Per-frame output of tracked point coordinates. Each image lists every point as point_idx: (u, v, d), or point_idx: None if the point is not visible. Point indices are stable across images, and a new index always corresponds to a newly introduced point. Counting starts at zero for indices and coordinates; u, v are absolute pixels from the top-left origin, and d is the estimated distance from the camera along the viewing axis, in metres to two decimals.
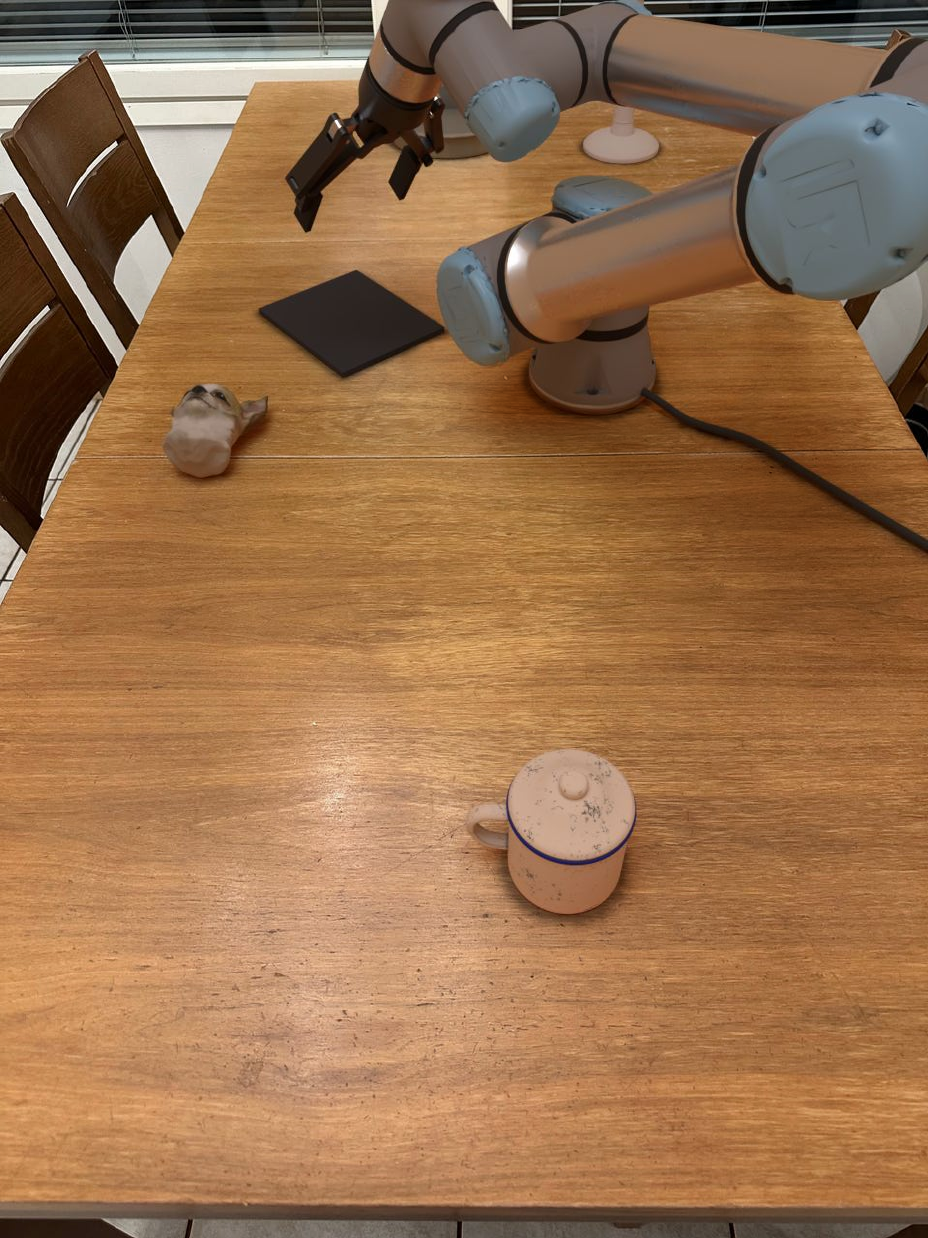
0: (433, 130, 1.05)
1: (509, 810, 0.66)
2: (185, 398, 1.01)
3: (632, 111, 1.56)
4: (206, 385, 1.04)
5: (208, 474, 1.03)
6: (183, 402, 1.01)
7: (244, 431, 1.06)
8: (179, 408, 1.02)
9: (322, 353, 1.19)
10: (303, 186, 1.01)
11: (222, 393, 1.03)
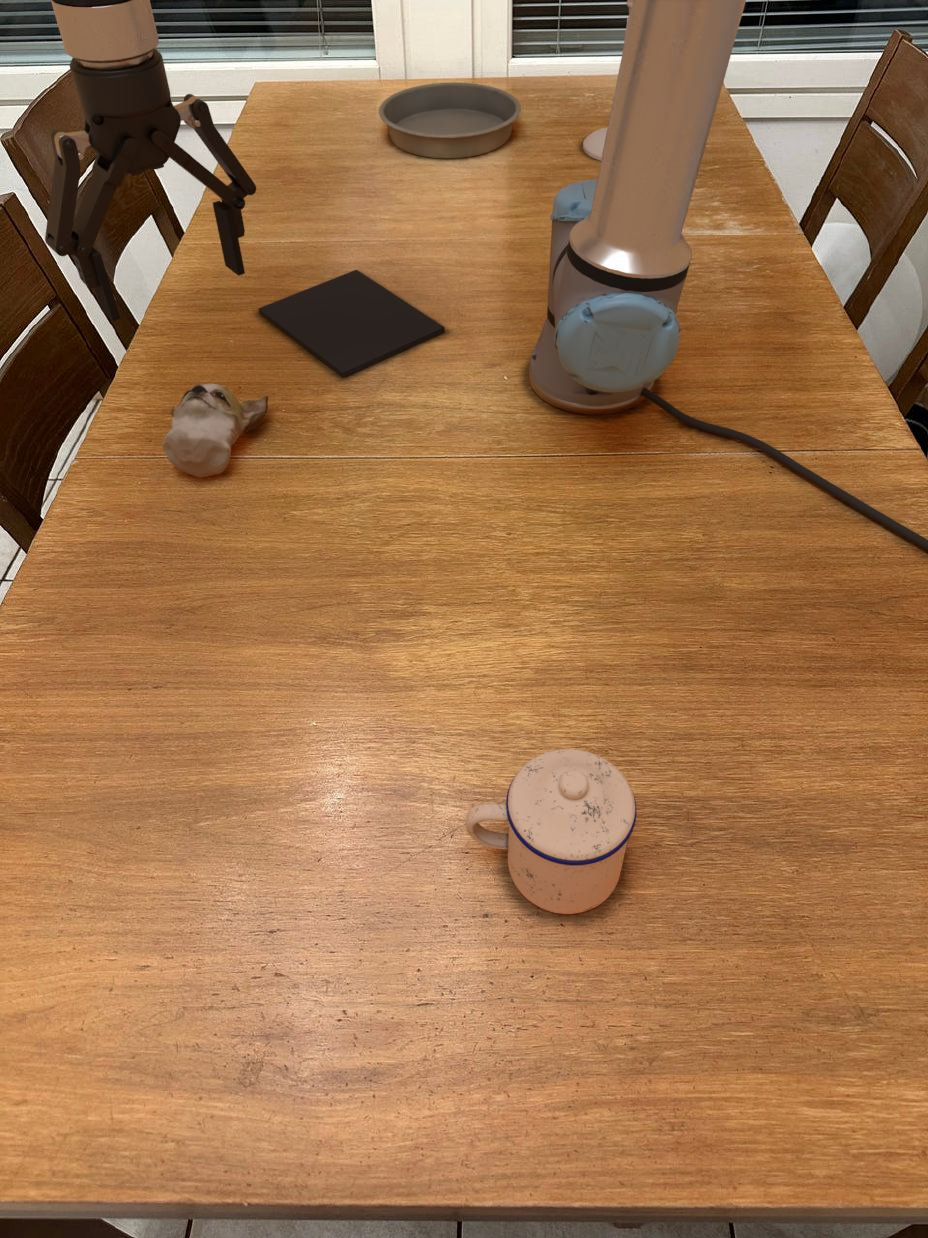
0: (217, 150, 0.87)
1: (509, 810, 0.66)
2: (185, 398, 1.01)
3: None
4: (206, 385, 1.04)
5: (208, 474, 1.03)
6: (183, 402, 1.01)
7: (244, 431, 1.06)
8: (179, 408, 1.02)
9: (322, 353, 1.19)
10: (57, 234, 0.82)
11: (222, 393, 1.03)
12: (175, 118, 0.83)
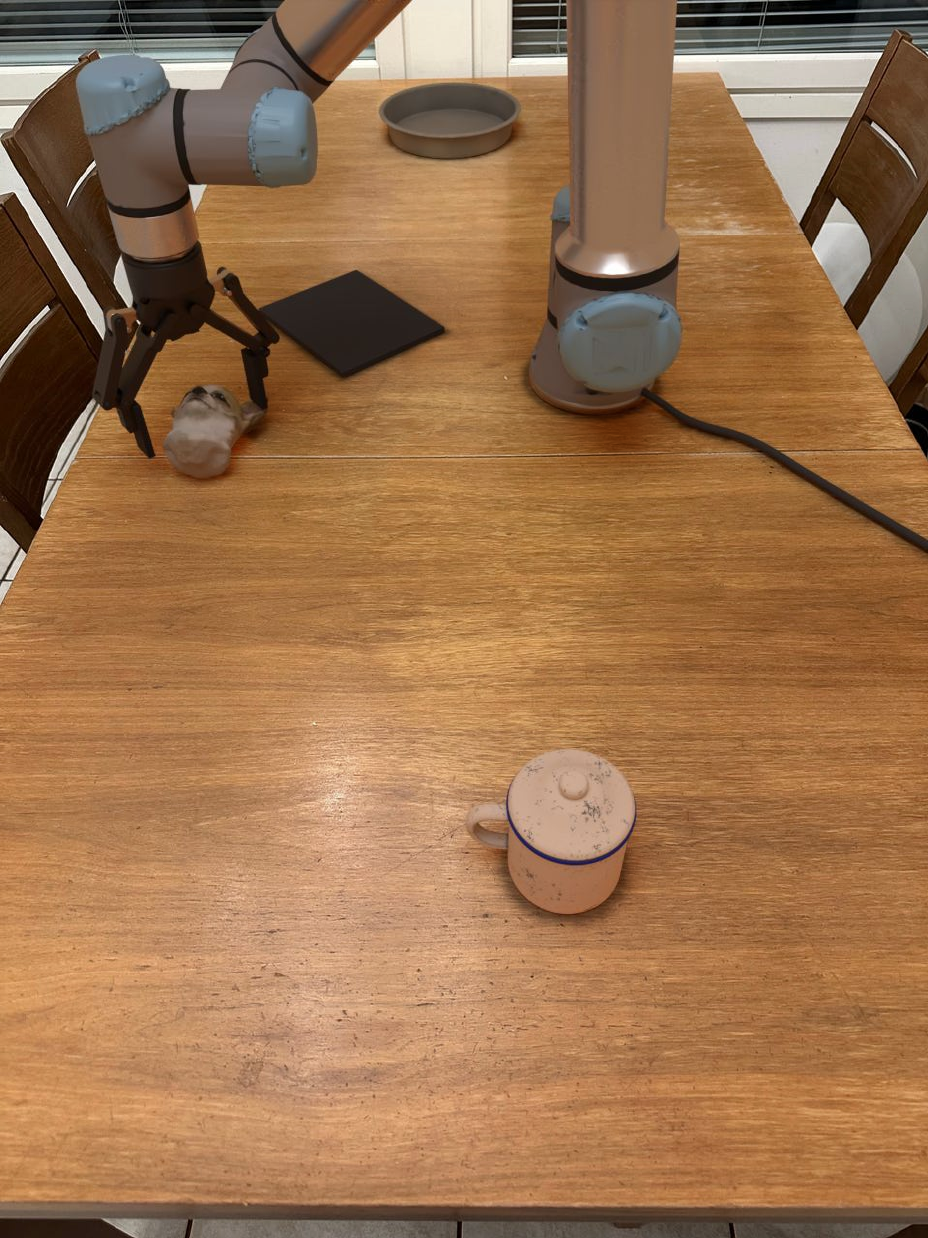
0: (246, 312, 0.99)
1: (509, 810, 0.66)
2: (185, 399, 1.01)
3: None
4: (206, 386, 1.04)
5: (208, 475, 1.03)
6: (183, 403, 1.01)
7: (244, 432, 1.06)
8: (179, 409, 1.02)
9: (322, 353, 1.19)
10: (104, 393, 0.94)
11: (222, 394, 1.03)
12: (210, 292, 0.95)
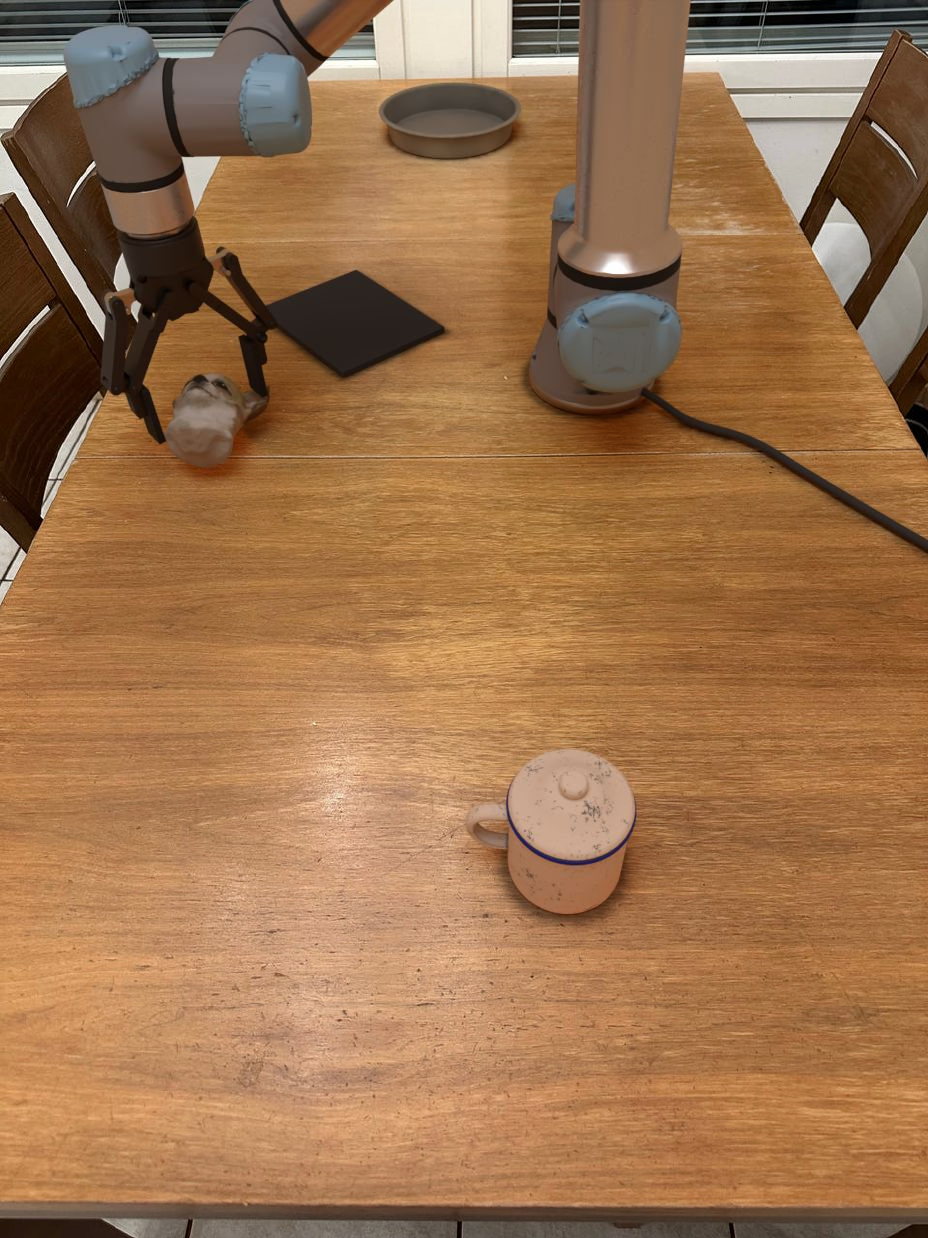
0: (244, 294, 0.97)
1: (509, 810, 0.66)
2: (186, 388, 1.00)
3: None
4: (207, 375, 1.03)
5: (211, 464, 1.02)
6: (184, 392, 1.00)
7: (247, 420, 1.05)
8: (180, 398, 1.01)
9: (322, 353, 1.19)
10: (111, 378, 0.93)
11: (223, 382, 1.02)
12: (209, 270, 0.93)
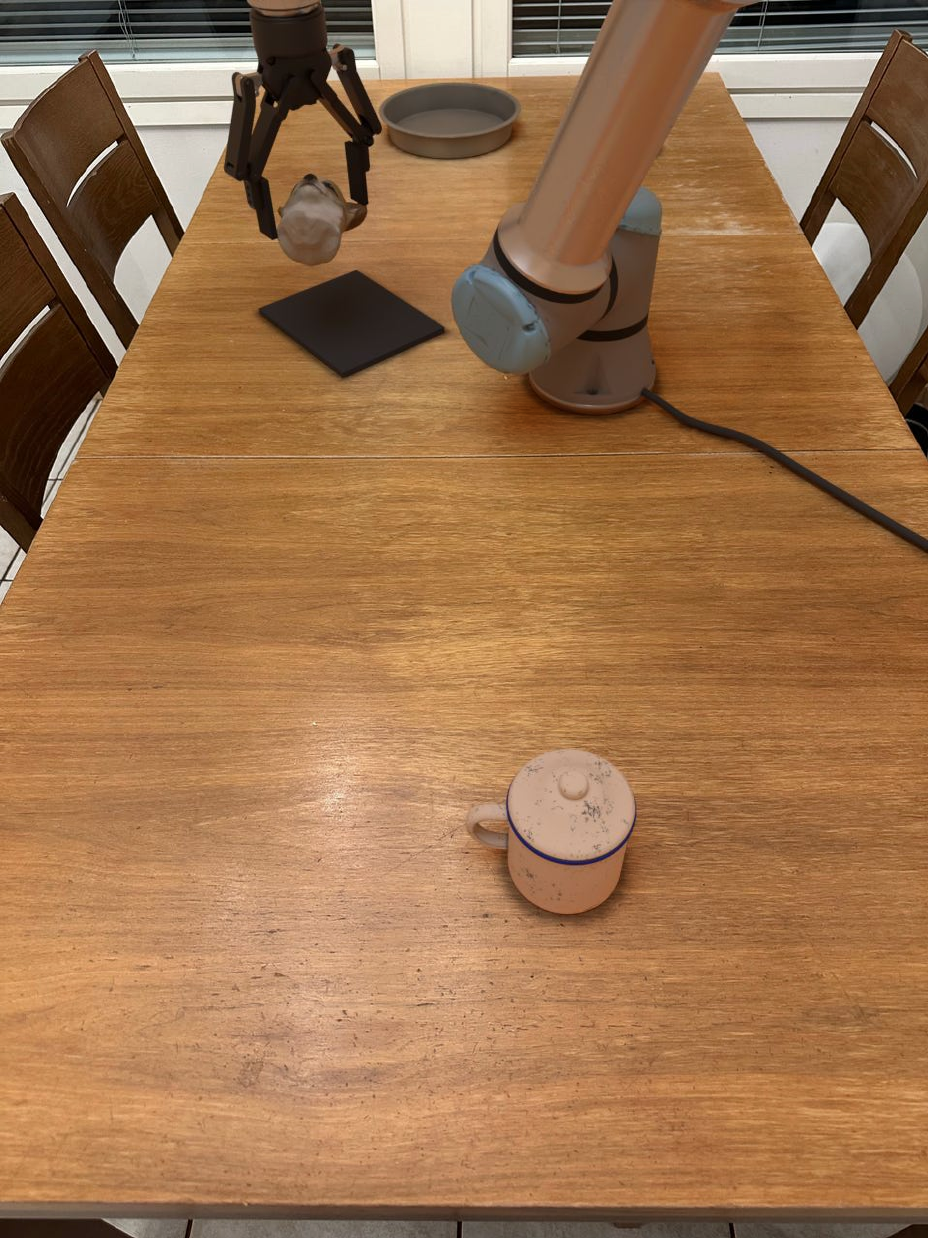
0: (356, 92, 1.03)
1: (509, 810, 0.66)
2: (298, 185, 1.06)
3: None
4: None
5: (319, 261, 1.08)
6: (296, 189, 1.06)
7: (349, 226, 1.11)
8: (291, 197, 1.07)
9: (322, 353, 1.19)
10: (236, 161, 0.99)
11: (331, 184, 1.08)
12: (328, 61, 0.99)
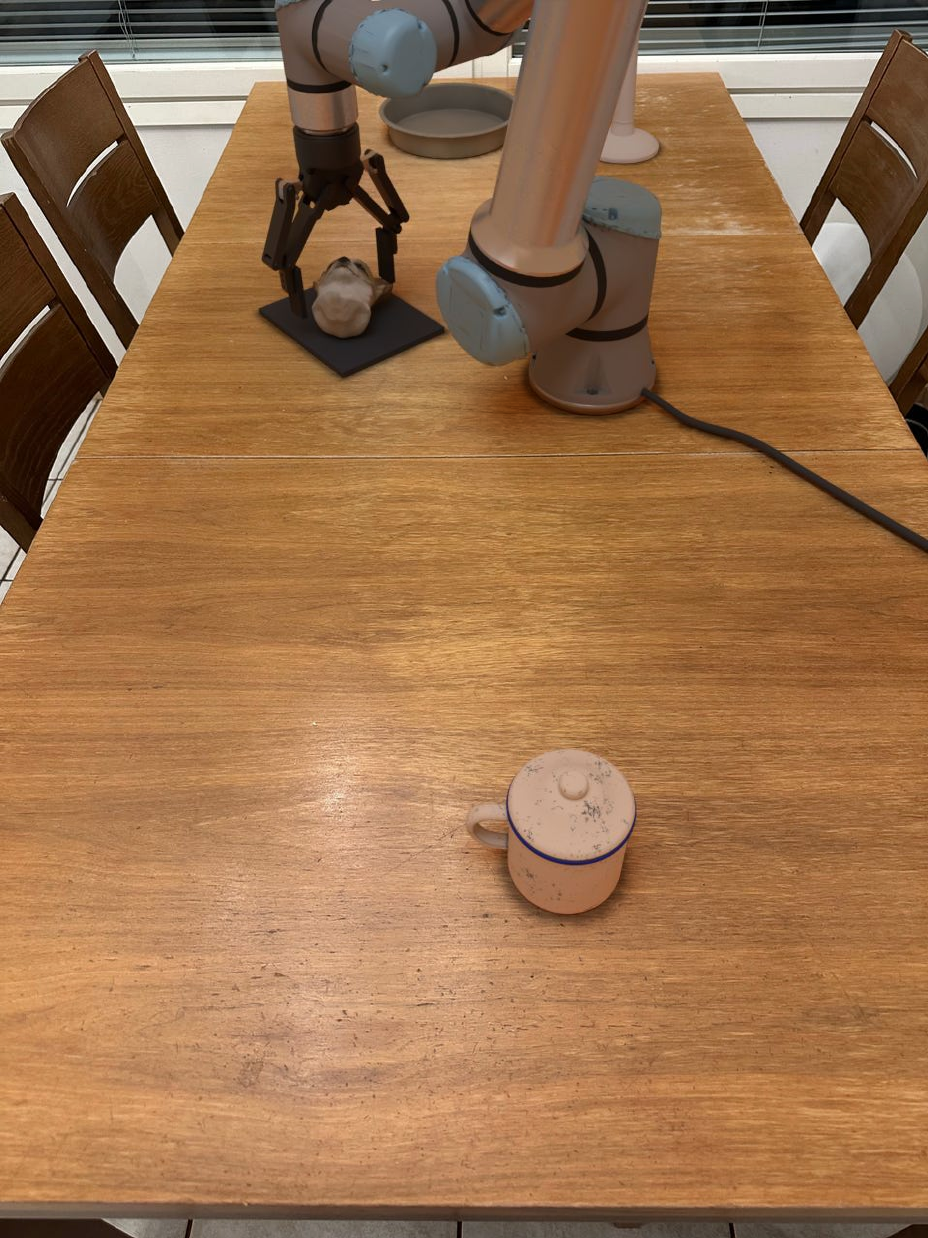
0: (386, 190, 1.15)
1: (509, 810, 0.66)
2: (332, 267, 1.18)
3: (632, 111, 1.56)
4: None
5: (350, 334, 1.20)
6: (330, 270, 1.18)
7: (377, 300, 1.23)
8: (326, 276, 1.19)
9: (322, 353, 1.19)
10: (274, 254, 1.11)
11: (362, 265, 1.20)
12: (361, 168, 1.11)
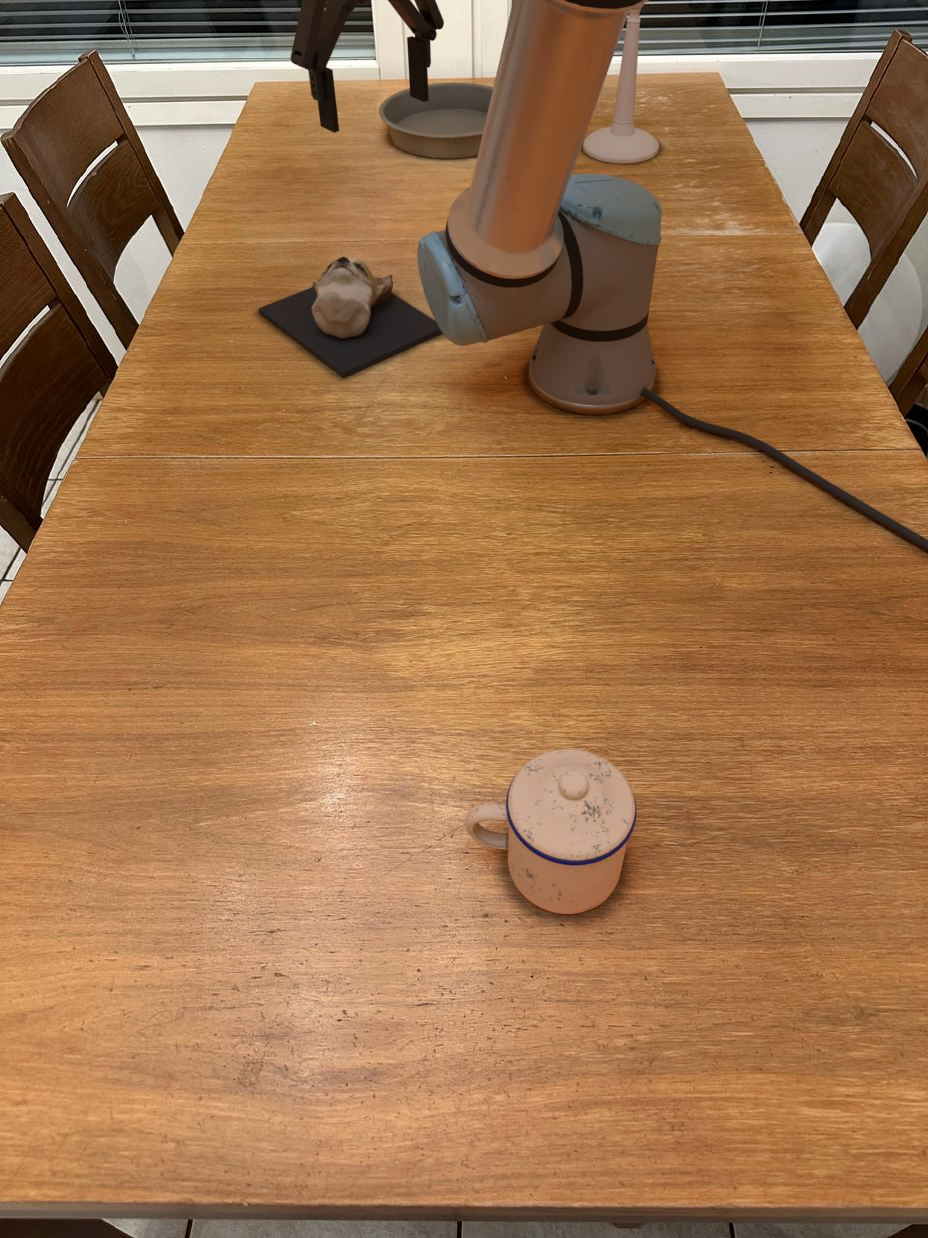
0: None
1: (509, 810, 0.66)
2: (332, 267, 1.18)
3: (632, 111, 1.56)
4: None
5: (350, 335, 1.20)
6: (330, 271, 1.18)
7: (377, 300, 1.23)
8: (325, 277, 1.19)
9: (322, 353, 1.19)
10: (305, 49, 1.03)
11: (361, 265, 1.20)
12: None
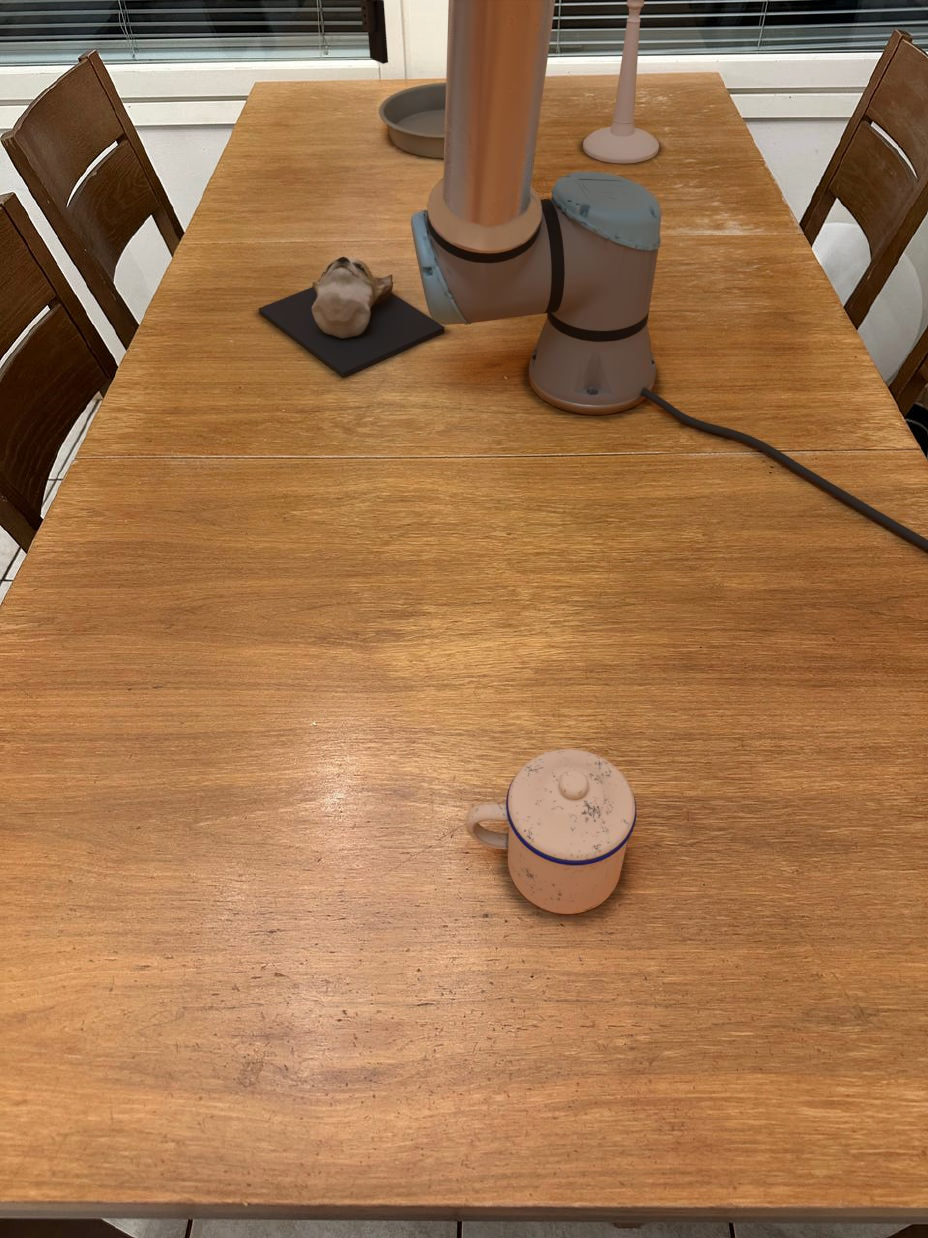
0: None
1: (509, 810, 0.66)
2: (332, 267, 1.18)
3: (632, 111, 1.56)
4: None
5: (350, 335, 1.20)
6: (330, 271, 1.18)
7: (377, 300, 1.23)
8: (325, 277, 1.19)
9: (322, 353, 1.19)
10: None
11: (361, 265, 1.20)
12: None
